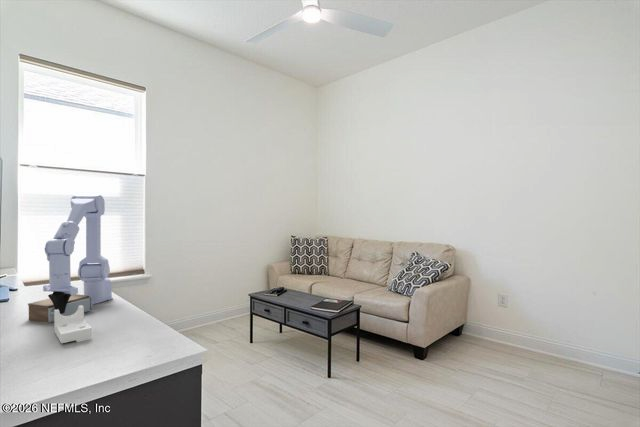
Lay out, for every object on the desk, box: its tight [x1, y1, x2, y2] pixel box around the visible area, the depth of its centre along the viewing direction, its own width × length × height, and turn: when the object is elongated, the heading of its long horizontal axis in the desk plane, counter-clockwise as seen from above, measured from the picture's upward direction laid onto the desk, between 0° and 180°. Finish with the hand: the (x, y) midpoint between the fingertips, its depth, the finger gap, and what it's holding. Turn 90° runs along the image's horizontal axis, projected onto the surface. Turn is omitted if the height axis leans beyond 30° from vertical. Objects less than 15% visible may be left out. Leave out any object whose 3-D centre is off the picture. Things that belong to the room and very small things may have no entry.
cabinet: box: [27, 293, 89, 324], centre depth 123 cm, size 14×10×6 cm
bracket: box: [53, 305, 92, 344], centre depth 103 cm, size 13×7×8 cm, turn 44°
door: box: [47, 298, 92, 323], centre depth 121 cm, size 15×2×5 cm, turn 161°
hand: (60, 313), depth 116 cm, fingers closed
